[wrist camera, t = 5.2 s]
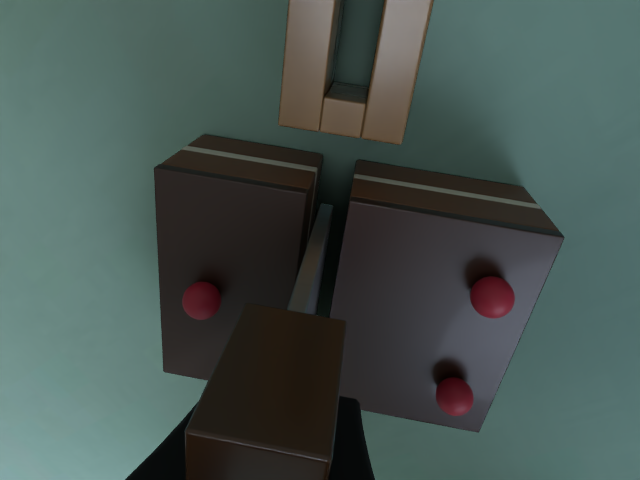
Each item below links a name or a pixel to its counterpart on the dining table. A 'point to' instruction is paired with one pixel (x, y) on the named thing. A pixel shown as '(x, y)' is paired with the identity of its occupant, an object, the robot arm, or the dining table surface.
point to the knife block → (345, 99)
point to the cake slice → (227, 240)
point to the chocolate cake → (436, 290)
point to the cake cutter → (274, 387)
